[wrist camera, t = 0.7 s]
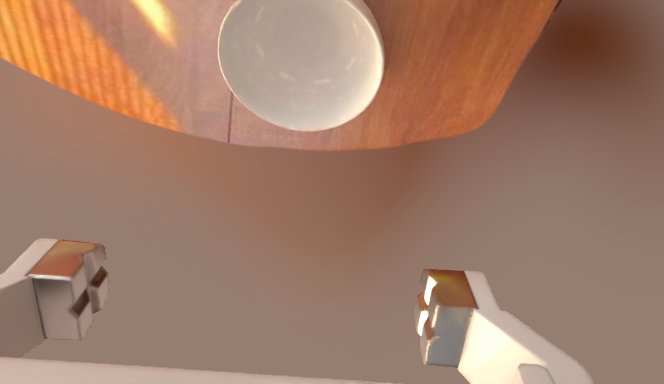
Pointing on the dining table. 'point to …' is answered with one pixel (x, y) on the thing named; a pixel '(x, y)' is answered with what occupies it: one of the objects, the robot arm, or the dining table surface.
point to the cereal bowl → (302, 60)
